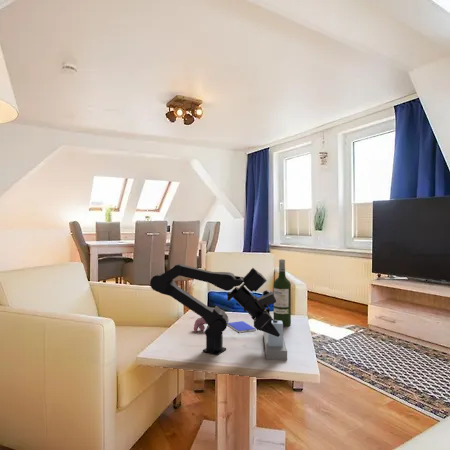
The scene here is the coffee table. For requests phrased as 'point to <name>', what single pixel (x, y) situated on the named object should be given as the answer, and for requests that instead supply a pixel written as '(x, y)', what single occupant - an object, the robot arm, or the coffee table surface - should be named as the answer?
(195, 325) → the video game controller
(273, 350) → the power strip
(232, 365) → the coffee table surface
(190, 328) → the coffee table surface
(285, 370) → the coffee table surface
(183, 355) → the coffee table surface
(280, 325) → the light blue rectangular block
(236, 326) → the hard drive
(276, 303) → the wine bottle
